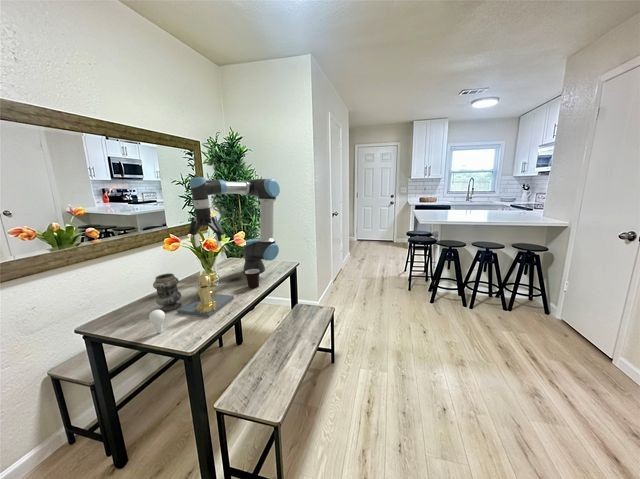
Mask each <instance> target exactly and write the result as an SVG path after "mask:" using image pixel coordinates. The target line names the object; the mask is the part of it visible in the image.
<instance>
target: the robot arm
mask: <svg viewBox="0 0 640 479" xmlns="http://www.w3.org/2000/svg"><path fill="white" fill-rule="evenodd" d="M189 187H190V191H191V192H190V193H191V197H192V203H193V207H194V215H195V216H191V217H190V218H191V223H190V227H189V231H188V234H189V235H192V239H193V241H194V243H195V244H194V245H195V248H198V247H200V246H201V243H200V237H199V233H198V232H199V230H200V229H201V227H202V226H207V227H209V228H210V229H211V230H212V231H213V233H214V234H216V235H215V241H216V247H217V248H218V249H219V248H221V247H222V235H223V234H225V231H224V229H223V228H222V226H221V224H220V222H219V221H218V218H217V216H216V215H215V216H211V213H212V212H211V207H210V200H209V196H210V195H211V196H212V195H226V194H227V195H228V194H234V195H236V194H237V195H240V194H241V195H243V196H251V197H257V200H258V201H259V202H260V204H259V205H260V211H259V212H260V216H259V217H260V218H259V219H260V222H259V223H260V224H259V228H260V229H259V238H251V239H248V240H245V241H246V245H244V246H242V249H243V254H244V255H243V256H244V264H243V274H245V271H247V270H250V269H258V270H259V274H262V273H264V272H265V271H266V267H265V264H264V261H274V260H275V259H276V258H277V256H278V255H279V252H280V248H279V246H278V244H276V240H275V238H274V202H275V201H276V200H277V197H278V196H279V194H280V190H281V189H280V185H279V183H278V182H277V180H276V179H273V178H256V179H249V180H244V179H243V180H241V181H226V180H224V179H211V180H210V179H207V180H206V177H203V176H201V177H191V178H190V179H189Z"/></svg>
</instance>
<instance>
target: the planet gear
mask: <svg viewBox="0 0 640 479" xmlns="http://www.w3.org/2000/svg"><path fill="white" fill-rule="evenodd" d="M210 286H211V285H210ZM210 286H209V285H202V286H200V285H199V286H198V288H197V289H198V291H199V295H200V303H198V305H197V311H198V312H200V313H209V312H211V311H213V310H215V307H217V306H216V301H213V300H211V293H210V288H211V287H210Z"/></svg>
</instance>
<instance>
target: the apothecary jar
mask: <svg viewBox="0 0 640 479" xmlns="http://www.w3.org/2000/svg"><path fill="white" fill-rule="evenodd" d="M178 284H179V279H178V277H176V276H175V274H174V273H171V272H168V273H162V274H160V275H156V277H155V280H154V282H153V283H152V286H153V289H155V290H156V294H157V296H156V298H155V302H156V304H158V305H159V306H161V307H160V309H159V310H162V311H163V312H164V313H168V312H173V311H177V310H178V309H179V308H181V307H182V304H181V302H178V301H179V300H181V298H182V293H181V292H180V291H179V289H178Z"/></svg>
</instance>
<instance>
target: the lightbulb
mask: <svg viewBox="0 0 640 479" xmlns="http://www.w3.org/2000/svg"><path fill="white" fill-rule="evenodd" d="M165 318H166V312H163V311H162V310H160V309H154V310H153V311H151V312H150V314H149V315H148V320H149V322H150V323H151V324H152V325H153V327H154V329H155V333H157V334H161V333H162V332H164V328H163V327H164V320H165Z"/></svg>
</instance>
